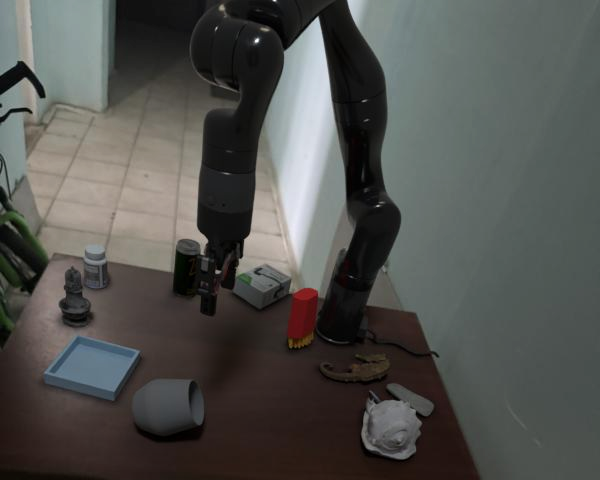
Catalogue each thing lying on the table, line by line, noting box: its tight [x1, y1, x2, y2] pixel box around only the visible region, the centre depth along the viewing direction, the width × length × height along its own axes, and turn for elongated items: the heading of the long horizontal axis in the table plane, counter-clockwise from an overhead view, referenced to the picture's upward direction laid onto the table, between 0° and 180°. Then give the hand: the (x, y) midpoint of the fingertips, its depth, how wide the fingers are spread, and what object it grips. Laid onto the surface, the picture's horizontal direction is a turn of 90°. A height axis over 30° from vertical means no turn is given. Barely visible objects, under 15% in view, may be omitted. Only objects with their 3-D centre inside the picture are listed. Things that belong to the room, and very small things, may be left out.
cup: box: [131, 378, 205, 437], centre depth 85 cm, size 10×9×10 cm
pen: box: [368, 389, 382, 404], centre depth 104 cm, size 1×1×14 cm
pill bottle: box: [82, 243, 109, 290], centre depth 111 cm, size 5×5×8 cm
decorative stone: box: [385, 382, 435, 417], centre depth 108 cm, size 11×1×5 cm
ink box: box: [232, 262, 293, 310], centre depth 125 cm, size 9×5×12 cm
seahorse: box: [319, 352, 392, 384], centre depth 111 cm, size 9×16×3 cm, turn 123°
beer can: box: [172, 238, 202, 299], centre depth 115 cm, size 5×5×12 cm
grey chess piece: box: [58, 265, 92, 328], centre depth 99 cm, size 6×6×12 cm
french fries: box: [286, 287, 319, 349], centre depth 112 cm, size 8×4×12 cm, turn 145°
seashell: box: [360, 397, 423, 461], centre depth 95 cm, size 12×14×10 cm
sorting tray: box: [43, 333, 141, 402], centre depth 93 cm, size 12×12×2 cm
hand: (217, 300), depth 81 cm, fingers open, 8 cm apart
